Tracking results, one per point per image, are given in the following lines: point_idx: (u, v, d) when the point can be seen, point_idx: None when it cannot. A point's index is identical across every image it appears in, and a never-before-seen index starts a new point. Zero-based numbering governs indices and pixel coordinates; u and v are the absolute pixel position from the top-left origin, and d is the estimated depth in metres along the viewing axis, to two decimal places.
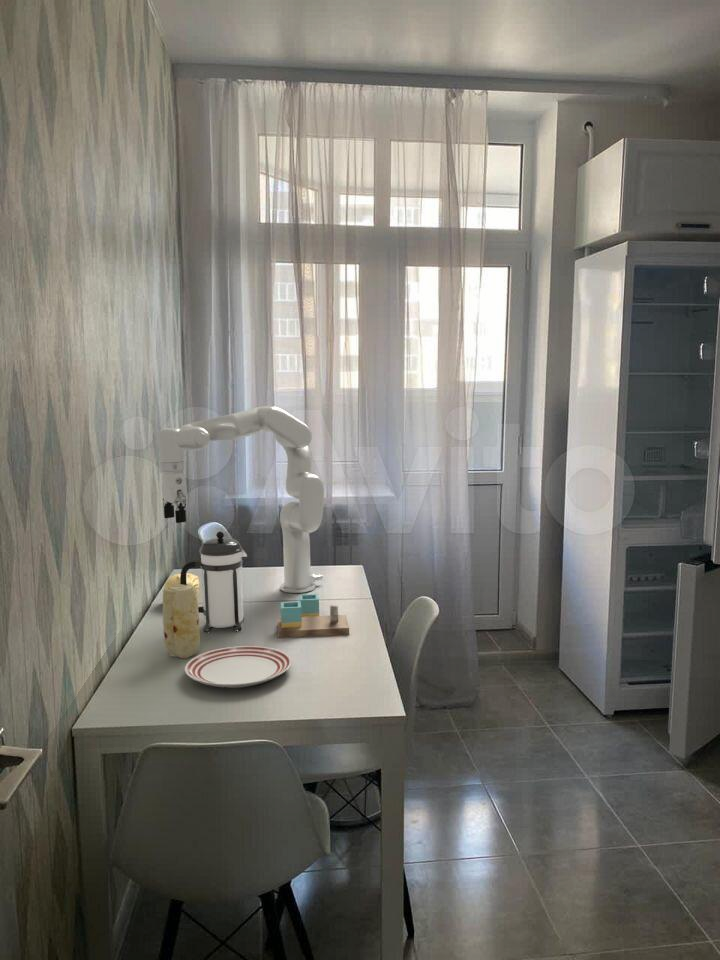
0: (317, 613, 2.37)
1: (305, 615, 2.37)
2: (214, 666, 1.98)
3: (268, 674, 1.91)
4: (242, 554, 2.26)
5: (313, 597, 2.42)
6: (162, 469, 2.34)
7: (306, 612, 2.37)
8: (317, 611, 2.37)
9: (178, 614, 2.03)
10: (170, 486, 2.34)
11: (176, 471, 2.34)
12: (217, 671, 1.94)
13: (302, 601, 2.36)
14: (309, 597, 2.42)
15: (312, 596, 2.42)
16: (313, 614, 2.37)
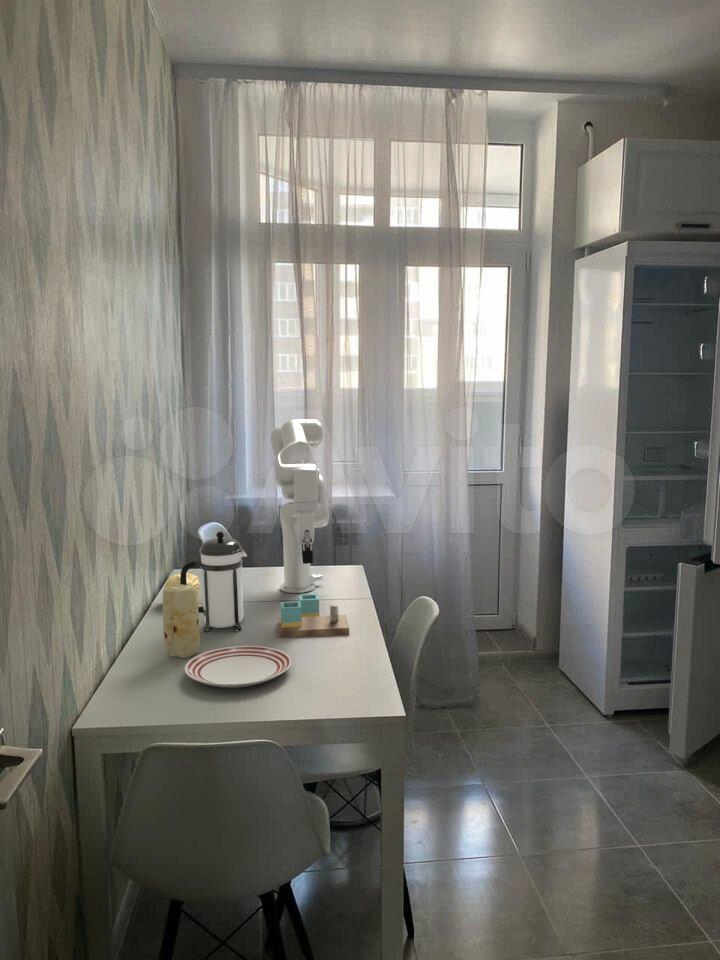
0: (317, 613, 2.37)
1: (305, 615, 2.37)
2: (214, 666, 1.98)
3: (268, 674, 1.91)
4: (242, 554, 2.26)
5: (313, 597, 2.42)
6: None
7: (306, 612, 2.37)
8: (317, 611, 2.37)
9: (178, 614, 2.03)
10: None
11: None
12: (217, 671, 1.94)
13: (302, 601, 2.36)
14: (309, 597, 2.42)
15: (312, 596, 2.42)
16: (313, 614, 2.37)
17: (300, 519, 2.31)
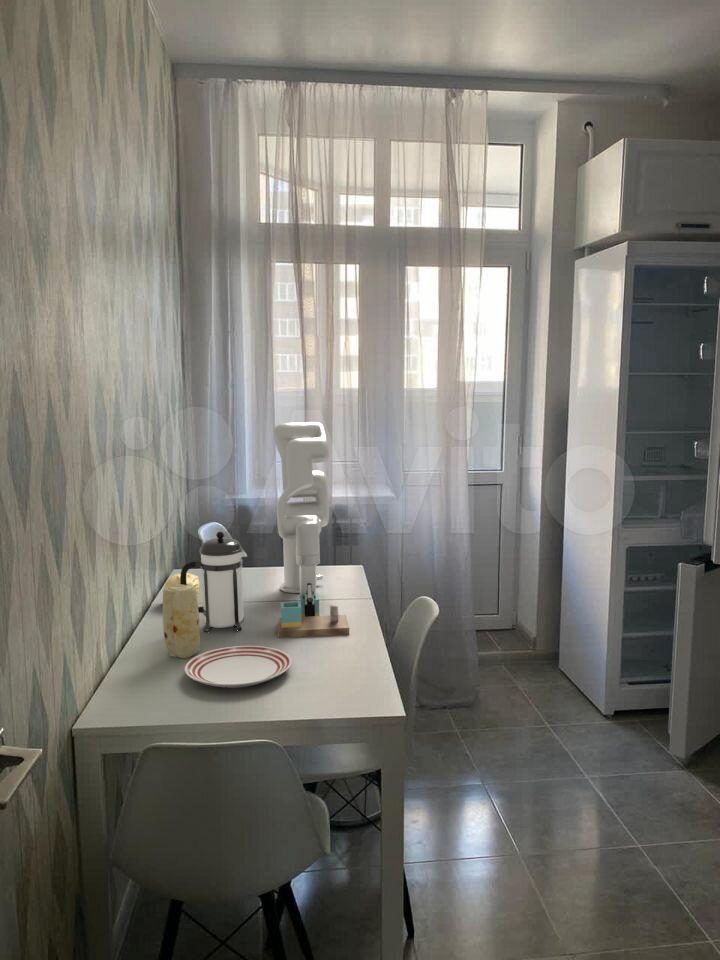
0: (317, 613, 2.37)
1: None
2: (214, 666, 1.98)
3: (268, 674, 1.91)
4: (242, 554, 2.26)
5: None
6: None
7: None
8: (317, 611, 2.37)
9: (178, 614, 2.03)
10: None
11: None
12: (217, 671, 1.94)
13: (302, 601, 2.36)
14: None
15: None
16: None
17: (302, 572, 2.33)
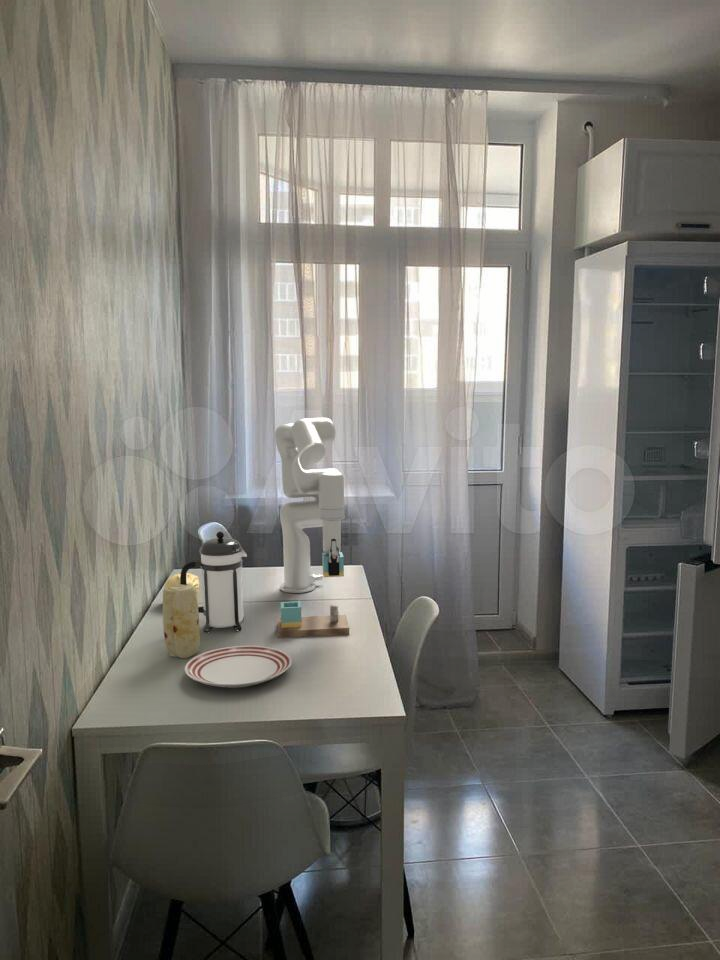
0: (341, 571, 2.22)
1: None
2: (214, 666, 1.98)
3: (268, 674, 1.91)
4: (242, 554, 2.26)
5: None
6: None
7: None
8: (341, 569, 2.22)
9: (178, 614, 2.03)
10: None
11: None
12: (217, 671, 1.94)
13: (326, 559, 2.21)
14: None
15: None
16: None
17: (326, 527, 2.18)
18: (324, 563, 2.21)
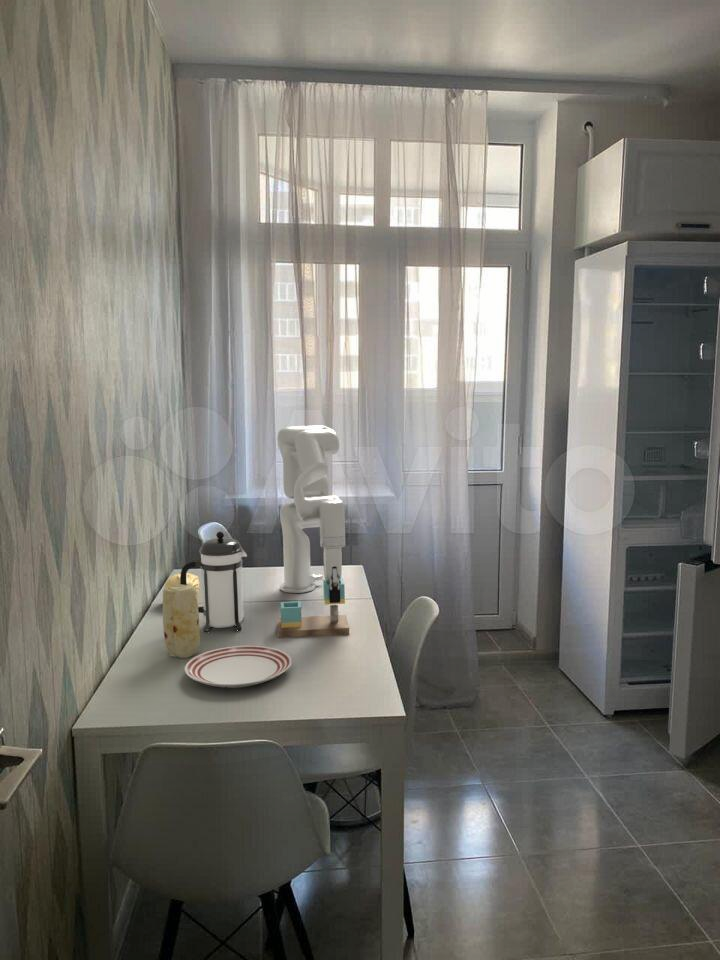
0: (342, 598, 2.23)
1: None
2: (214, 666, 1.98)
3: (268, 674, 1.91)
4: (242, 554, 2.26)
5: None
6: None
7: None
8: (342, 597, 2.23)
9: (178, 614, 2.03)
10: None
11: None
12: (217, 671, 1.94)
13: (326, 586, 2.22)
14: None
15: None
16: None
17: (327, 555, 2.19)
18: (325, 590, 2.22)
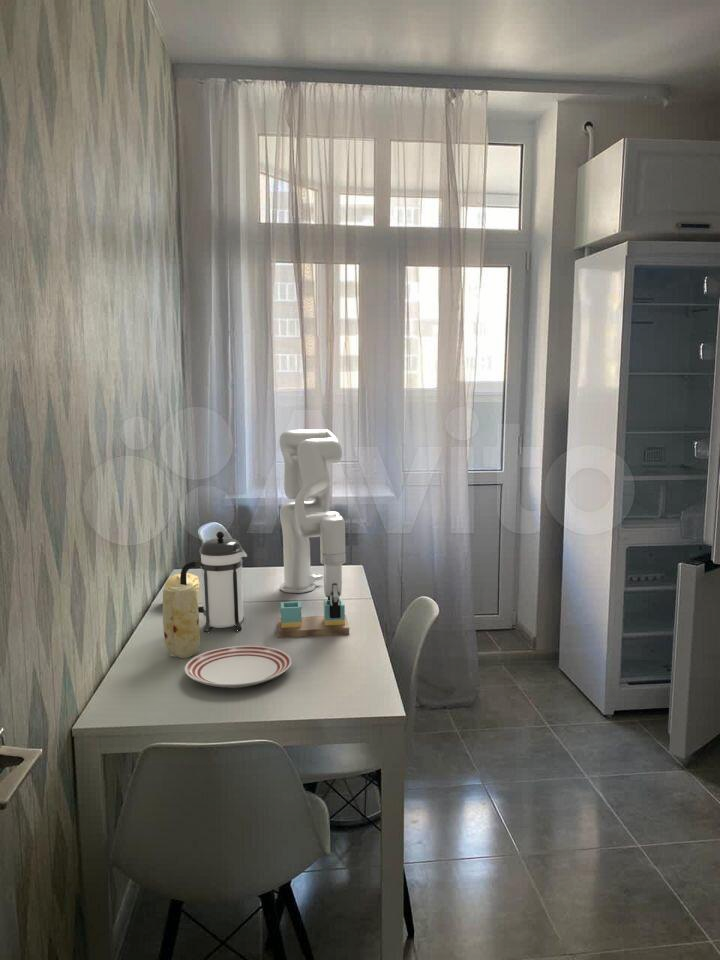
0: (342, 619, 2.25)
1: (330, 622, 2.24)
2: (214, 666, 1.98)
3: (268, 674, 1.91)
4: (242, 554, 2.26)
5: None
6: None
7: (331, 619, 2.24)
8: (342, 618, 2.24)
9: (178, 614, 2.03)
10: None
11: None
12: (217, 671, 1.94)
13: (327, 607, 2.23)
14: None
15: None
16: (338, 621, 2.24)
17: (327, 572, 2.20)
18: (325, 611, 2.24)
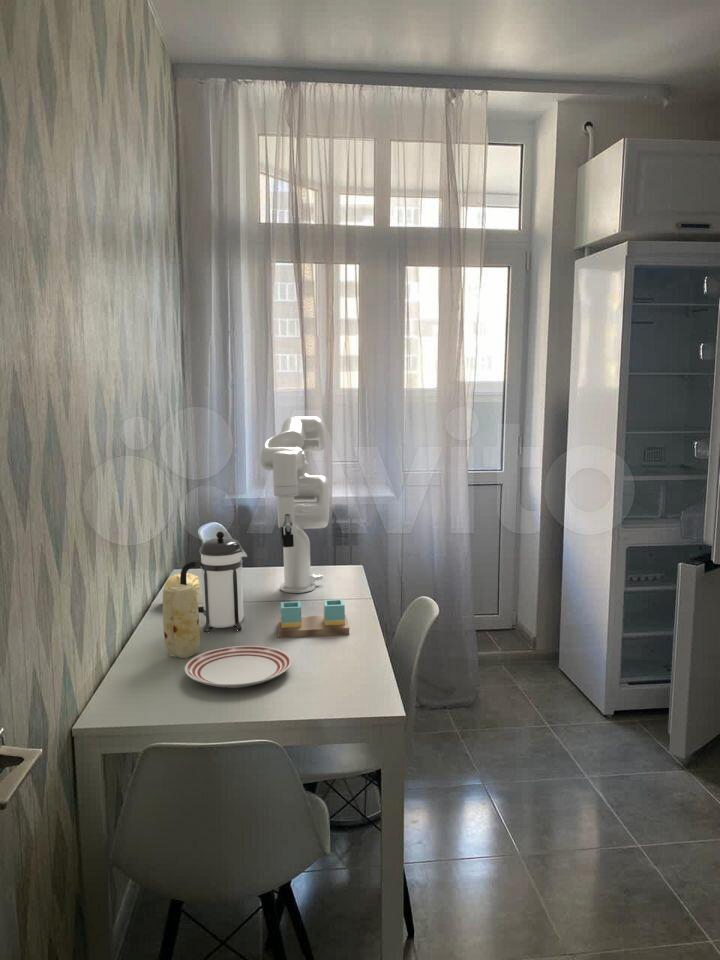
0: (342, 619, 2.25)
1: (330, 622, 2.24)
2: (214, 666, 1.98)
3: (268, 674, 1.91)
4: (242, 554, 2.26)
5: (338, 603, 2.29)
6: None
7: (331, 619, 2.24)
8: (342, 618, 2.24)
9: (178, 614, 2.03)
10: None
11: None
12: (217, 671, 1.94)
13: (327, 607, 2.23)
14: (334, 603, 2.29)
15: (337, 602, 2.29)
16: (338, 621, 2.24)
17: (280, 503, 2.31)
18: (325, 611, 2.24)
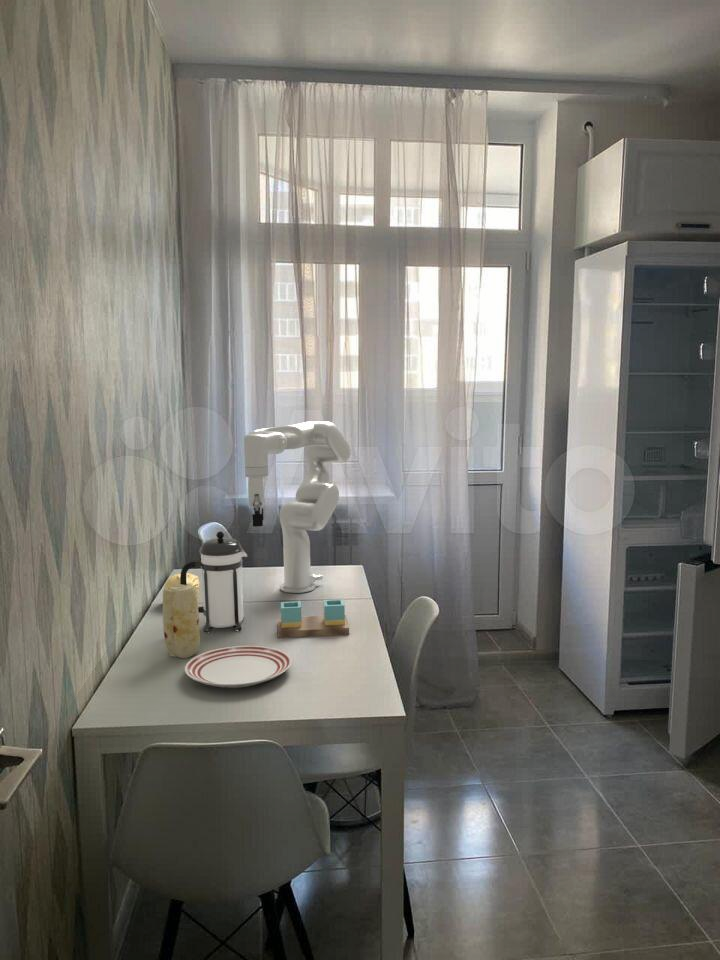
0: (342, 619, 2.25)
1: (330, 622, 2.24)
2: (214, 666, 1.98)
3: (268, 674, 1.91)
4: (242, 554, 2.26)
5: (338, 603, 2.29)
6: None
7: (331, 619, 2.24)
8: (342, 618, 2.24)
9: (178, 614, 2.03)
10: None
11: None
12: (217, 671, 1.94)
13: (327, 607, 2.23)
14: (334, 603, 2.29)
15: (337, 602, 2.29)
16: (338, 621, 2.24)
17: (250, 483, 2.39)
18: (325, 611, 2.24)
